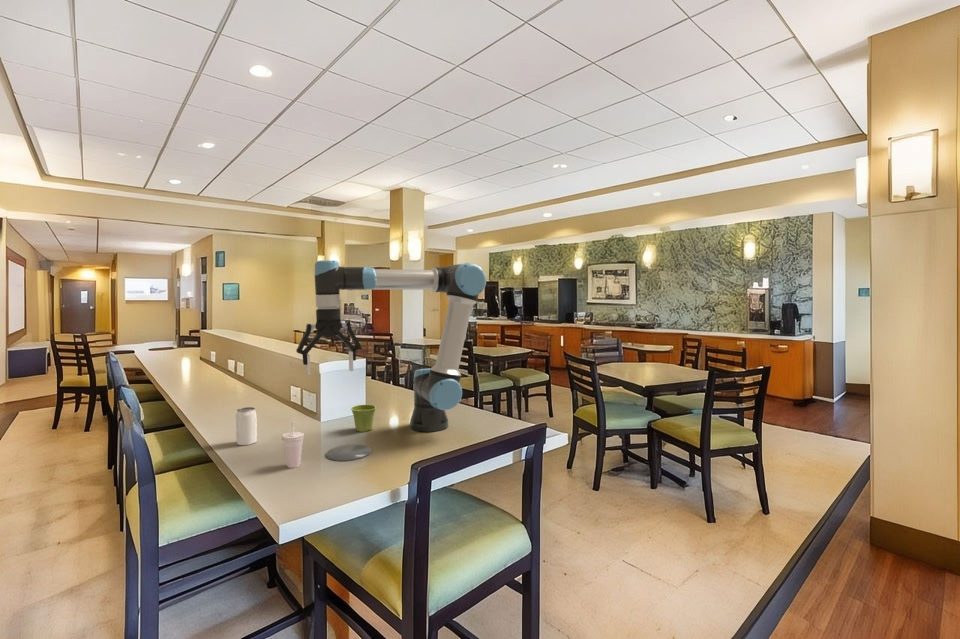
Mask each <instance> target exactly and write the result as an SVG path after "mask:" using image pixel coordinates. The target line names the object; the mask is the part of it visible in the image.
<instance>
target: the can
mask: <svg viewBox="0 0 960 639" xmlns="http://www.w3.org/2000/svg"><path fill="white" fill-rule="evenodd" d="M255 409H256V408H255V407H251V406H249V407H240V408H238V409H236V414H235V432H236V433H235V434H236V444H237V446H251V445H254V444H255V443H257V441H258V429H257V428H258V427H257V426H258V425H257V423H258V422H257V412H256V410H255Z"/></svg>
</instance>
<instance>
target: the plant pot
mask: <svg viewBox="0 0 960 639" xmlns="http://www.w3.org/2000/svg"><path fill="white" fill-rule="evenodd" d="M376 409H377V406H376V405H374V404H358V405H354V406H352V407H351V408H350V410H351V411H352V414H353V420H354V426H355V430H356V431H358V432H360V433H363V432H367V431H372V429H373V425H374V424H373V423H374V416H375V412H376Z"/></svg>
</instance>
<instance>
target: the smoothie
mask: <svg viewBox="0 0 960 639" xmlns="http://www.w3.org/2000/svg"><path fill="white" fill-rule="evenodd" d="M294 424H295V421H294V420H292V421H291V432H286V433H283V434H282V435H281V440H282V442H283V447H284V455H285V461H286V467H287V468H289V469H295V468H298V467H300V466H301V462H302V453H303V443H304V442H303V441H304V438H305V433H304V432H302V431H295V425H294Z"/></svg>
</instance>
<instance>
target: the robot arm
mask: <svg viewBox="0 0 960 639" xmlns="http://www.w3.org/2000/svg"><path fill="white" fill-rule="evenodd" d="M486 285H487V276H486V273H485V271H484V270H483V269H482V267H481V266H480V265H478V264H476V263H472V262H463V263H457V264H451V265H448V266H443V267H442V266H440V267H432V268H431V269H389V268H388V269H383V268H382V269H381V268H380V269H379V268H374V267H372V266H371V267H368V266H356V267H355V266H346V267H345V266H340V264H339V261H337V260H330V259H329V260H326V259H325V260H318V261H317V260H316V262H315V263H314V289H315V291H314V292H315V293H314V294H315V307H316V308H317V309H316V310H315V317H316V322H315V324H311V323H306V325H305V331H304V333H303V336H302V338H301V340H300V342H299V344H298V346H297V348H296V350H295V351H296V353H297V354H299V355H302V364H303V366H306V375H307V376H311V374H312V373H311V354H309V353H310V351H311V350H312V348H313V347H315V345H316V344H317V343H318V341H319V340H320V339H321V338H322V337H323V338H328V337H332V338H333V337H335V336H337V337H338V339H340V340H341V341H342V342H343V343H344V344H345V345H346V346H347V348H349V349H350V350H348V371H350V372H354V361H356V360H357V351H358V350H360V349H362V345H361V343H360V342H359V339H358V338H357V337H356V335H355V333H354V331H353V329H352V324H351V322H350V321H345V322H342V321H341V309H340V306H341V297H340V296H341V295H340V292H341V290H343V291H344V290H345V291H346V290H347V291H357V290H358V291H362V290H363V291H364V290H365V291H367V290H368V291H369V290H370V291H371V290H374V291H376V290H379V291H380V290H384V291H385V290H389V291H390V290H392V291H393V290H411V291H412V290H413V291H414V290H425V291H427V290H428V291H431V292H432V293H443V294H446V299H448V306H447V309H446V315H445V320H444V325H443V328H442V334H441V338H440V343H439V347H438V352H437V357H436V361H435V365H433V366H431V368H430V367H429V368H420V369H416V370H414V372H413V401H414V402H413V405H414V406H413V411H412V414H411V418H410V420H409V428H410V429H412V430H413V431H416V432H423V433H424V432H426V433H429V432H431V433H432V432H439V431H443V430H445V429H448V427H449V418H448V415H447V412H446V411H448V410H452V409H454V408H455V407H456V406H457V405H458V404H460V402H461V399H462V397H463V388H462V385H461V384H460V382H461V378H462V374H461V372H460V370H459V368H460V363H461V358H462V355H463V354H462V353H463V349H464V344H465V340H466V335H467V330H468V326H469V322H470V317H471V311H472V307H473V306H474V305H475V304H477V303H478V299H479V295H480V294H481V293H482V292H483V291H484V290H485V288H486ZM342 328H343V329H345V330H346V332H347V333H348V336H350V339H351V341H352V343H353V344H352V343H351V342H350V341H349V339H347V337H346V336H345V335H344V334H343V333H342V332H341V331H340V330H341V329H342ZM313 330H316V331H317V333H316V334H315V335H314V337H313V338H312V339H311V341H309V343H308V344H307V345H306V343H307V341H308V339H309V337H310V335H311V332H312V331H313ZM305 345H306V346H305Z"/></svg>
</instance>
